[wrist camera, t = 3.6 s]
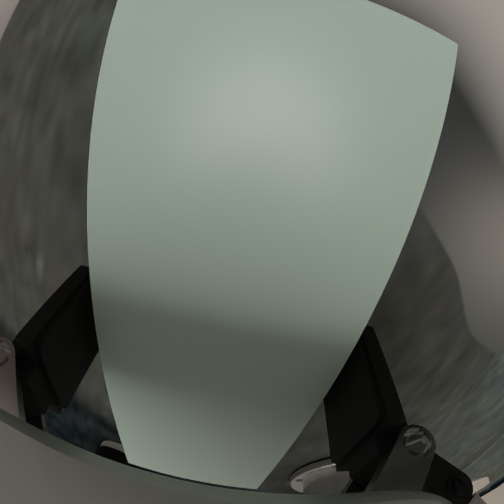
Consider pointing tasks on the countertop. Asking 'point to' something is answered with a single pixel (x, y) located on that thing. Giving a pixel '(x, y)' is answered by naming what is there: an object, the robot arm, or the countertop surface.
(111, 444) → the dixie cup
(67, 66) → the countertop surface
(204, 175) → the lid
